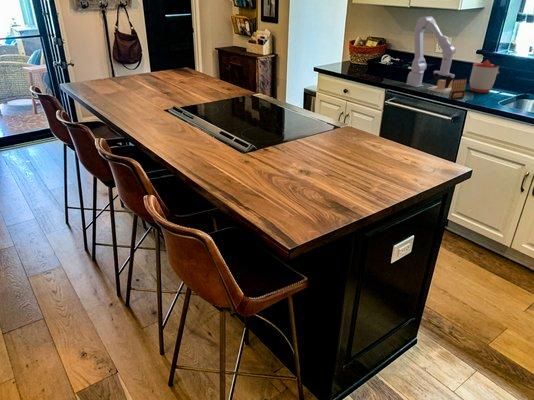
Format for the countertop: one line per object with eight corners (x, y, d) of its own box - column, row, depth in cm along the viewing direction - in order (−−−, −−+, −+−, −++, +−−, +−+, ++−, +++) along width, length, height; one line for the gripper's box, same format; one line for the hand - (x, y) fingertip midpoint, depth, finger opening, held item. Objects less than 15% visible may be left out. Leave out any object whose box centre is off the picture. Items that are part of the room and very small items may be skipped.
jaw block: (436, 90, 280) (438, 80, 276) (439, 90, 281) (441, 79, 278) (440, 91, 277) (442, 81, 274) (443, 91, 279) (446, 80, 276)
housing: (427, 89, 282) (430, 78, 279) (441, 87, 289) (443, 76, 286) (444, 93, 272) (446, 82, 269) (457, 91, 279) (460, 80, 276)
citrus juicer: (499, 94, 275) (508, 62, 266) (473, 93, 274) (482, 62, 265) (486, 88, 289) (494, 58, 280) (462, 88, 288) (469, 57, 279)
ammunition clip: (461, 97, 264) (465, 78, 258) (463, 98, 262) (468, 79, 257) (448, 99, 260) (452, 79, 255) (450, 100, 259) (454, 80, 253)
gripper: (432, 64, 275) (428, 85, 282) (451, 68, 265) (446, 89, 271) (439, 63, 279) (434, 84, 285) (458, 67, 268) (453, 88, 274)
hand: (441, 86), depth 278 cm, fingers open, 7 cm apart
